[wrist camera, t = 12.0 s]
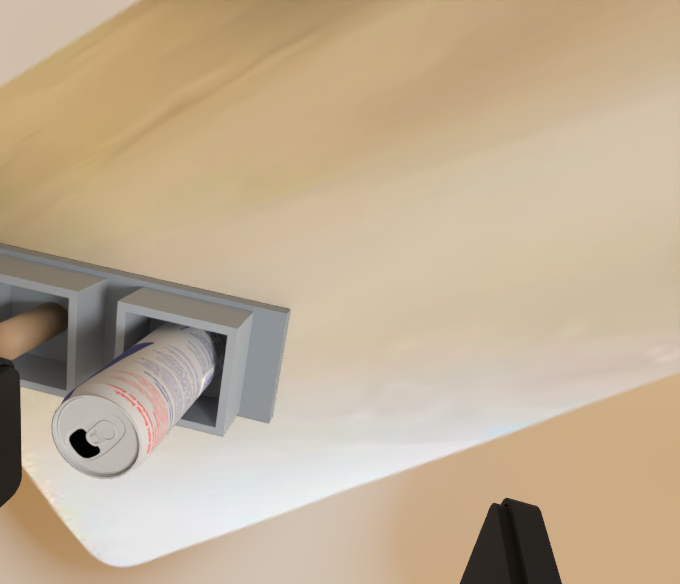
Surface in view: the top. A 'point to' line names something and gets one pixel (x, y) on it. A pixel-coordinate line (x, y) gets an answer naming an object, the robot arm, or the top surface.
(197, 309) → the grey divided tray
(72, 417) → the energy drink
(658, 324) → the top surface
